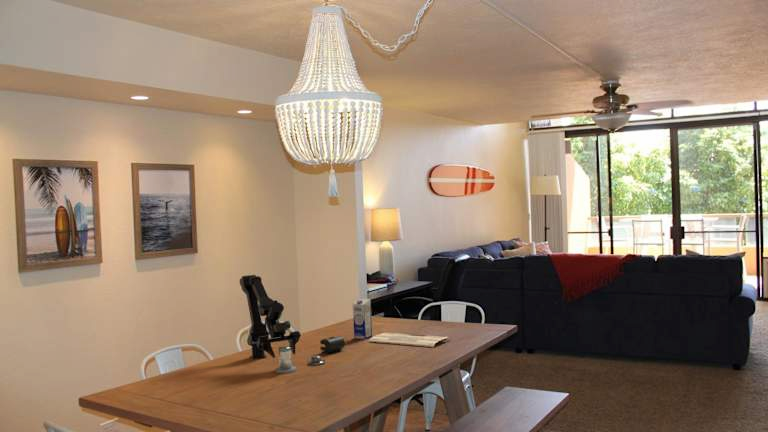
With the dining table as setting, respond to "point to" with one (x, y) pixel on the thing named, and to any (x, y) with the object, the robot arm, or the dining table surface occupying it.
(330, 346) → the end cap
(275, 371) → the coaster
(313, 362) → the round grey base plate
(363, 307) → the milk carton
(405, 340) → the newspaper
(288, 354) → the drinking glass
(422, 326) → the dining table surface
